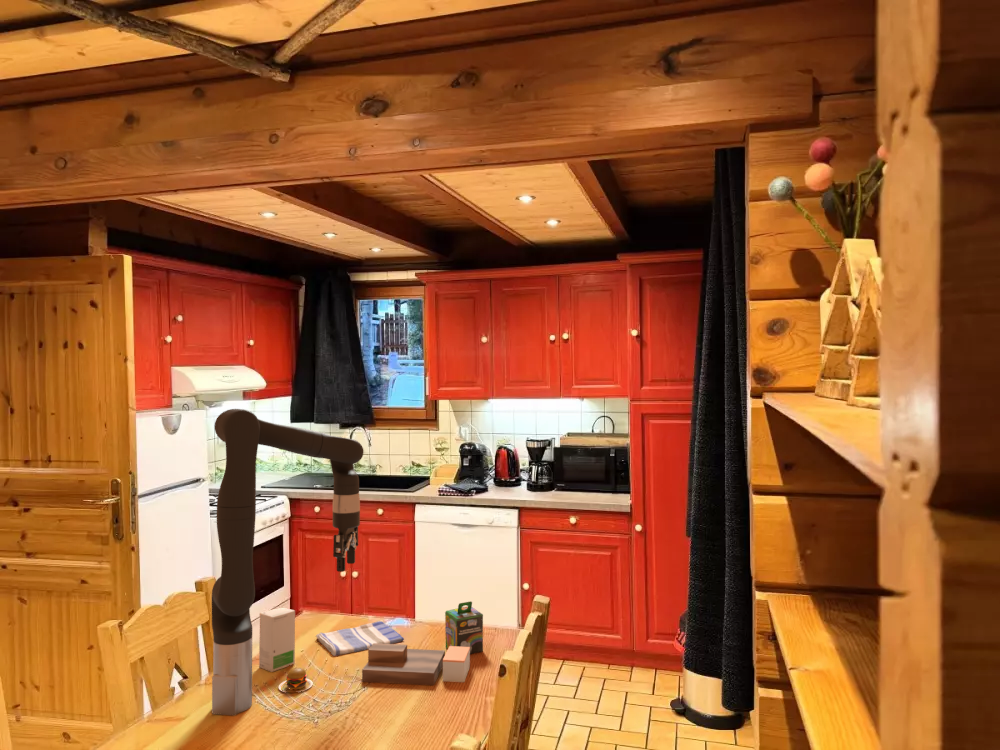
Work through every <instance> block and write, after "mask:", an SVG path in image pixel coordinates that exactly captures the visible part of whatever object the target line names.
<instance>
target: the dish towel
mask: <svg viewBox="0 0 1000 750" xmlns="http://www.w3.org/2000/svg"><path fill="white" fill-rule="evenodd" d="M315 637H316V639H317V640H318V642H319V643H320V644H321V645H322V646H324V647H325V648H326V649H327V651H328V652H329V653H330V652H331V653H330V654H331V655H332V656H333V657H336V656H337V657H338V656H340V655H341V656H342V655H346V654H351V653H357V652H358V653H359V652H363V651H368V650H369V648H370V647H371V646H372V645H373V643H378V644H399V643H401V642H403V641H404V640H405V638H404V637H403V636H402V635H401V634H400V633H399V632H398V631H396V630H394V629H393V628H392V627H390V626H389V625H388V624H386V623H385V622H384V621H381V620H378V621H375V622H371V623H370V622H369V623H364V624H361V625H358V626H355V627H352V628H343V629H338V630H335V631H334V630H333V631H330V632H324V633H323V632H319V633H317V634H316V635H315Z"/></svg>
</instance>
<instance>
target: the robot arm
mask: <svg viewBox="0 0 1000 750" xmlns="http://www.w3.org/2000/svg"><path fill="white" fill-rule="evenodd" d="M214 432H215V435H217V437H218V438H219V439H220V440H221V441H222V442H224V444H225V469H224V473H223V478H222V480H221V483H220V486H219V490H218V494H217V502H216V530H217V531H216V532H217V538H218V543H219V549H220V555H221V572H220V576H219V577H218V578H217V579H216V581H215V582H214V584H213V587H212V589H211V629H212V634H213V639H212V640H213V649H212V650H213V652H212V653H213V655H212V656H213V659H212V660H213V662H212V663H213V664H212V666H213V667H212V671H213V672H212V673H213V675H212V677H211V679H212V681H211V684H212V685H211V687H212V689H211V692H212V693H211V697H212V698H211V714H212V715H222V716H224V715H225V716H236V715H238V714H240V713H243V712H245V711H247V710H249V709H250V708H251V707H252V705H253V624H252V621H251V614H250V613H251V612H250V611H251V609H250V608H251V607H252V605H253V603H254V602H255V597H256V588H255V579H254V578H255V575H254V564H253V562H254V561H253V560H254V559H253V558H254V557H253V555H254V544H255V530H256V516H257V513H256V510H257V509H256V508H257V507H256V505H257V498H256V497H257V496H256V495H257V493H256V491H257V489H256V488H257V483H256V482H257V472H256V471H257V470H256V469H257V468H256V467H257V457H258V456H257V455H258V448H259V445H261V446H266V447H271V448H276V449H279V450H283V451H286V452H289V453H292V454H293V453H294V454H297V455H302V456H307V457H311V458H317V459H327V460H329V462H330V467H331V473H332V477H333V498H332V527H333V528H334V529H338V532H337V534H333V549H332V550H333V551H332V553H333V554H332V556H333V557H334V558H336V571H337V572H341V573H342V572H345V571H346V563H347V564H348V565H349V564H350V565H351V564H352V565H353V564H355V563H356V550H357V547H358V546H359V526H360V525H361V500H360V478H359V475H358V473H357V472H356V471H355V469H354V465H355V464H357V463H358V462H360V461H361V460H362V458H363V456H364V447H363V446H362V444H361V443H360V442H359V441H358V440H355V439H352V438H348V437H342V436H335V435H330V434H328V433H327V434H326V433H324V432H321V431H317V430H313V429H307V428H303V427H299V426H298V427H297V426H291V425H286V424H285V425H284V424H279V423H278V424H277V423H274V422H269V421H265V420H263V419H259V418H258V417H257V415H256V414H255V413H254V412H252V411H250V410H248V409H243V408H242V409H241V408H231V409H227V410H225V411H222V413H220V414H219V415H218V416H217V417H216V419H215V421H214Z"/></svg>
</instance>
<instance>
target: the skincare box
mask: <svg viewBox="0 0 1000 750" xmlns="http://www.w3.org/2000/svg"><path fill="white" fill-rule="evenodd" d="M295 640H296V610H294V609H290V608H287V607H278V608H273V609H270V610H265V611H262V612H259V645H258V646H259V649H258V650H259V651H258V652H259V653H258V654H259V655H258V658H259V660H258V665H259V666H258V667H259V668H260V669H262V670H266V671H269V672H270V673H272V672H276V671H279V670H281V669H284V668H287V667H290V666H292V664H293V665H295V664H296V663H295V661H296V659H295V658H296V653H295V651H296V641H295ZM289 665H290V666H289Z"/></svg>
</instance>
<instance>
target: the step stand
mask: <svg viewBox="0 0 1000 750" xmlns="http://www.w3.org/2000/svg"><path fill="white" fill-rule="evenodd" d="M367 651H368V652H367V658H368V659H367V663H366V664H365V665H364V666H363V668H362V669H361V675H362V676H361V682H362V683H381V684H399V685H403V684H404V685H417V686H418V685H419V686H420V685H421V686H424V685H425V686H435V684H436V682H437V679H438V678H439V675H440V673H441V671H442V670H443V658H444V656H445V654H446V650H442V649H441V650H440V649H418V648H408V644H399V643H393V644H378V643H373V645H372V646H371V647H370V648H369V649H367Z"/></svg>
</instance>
